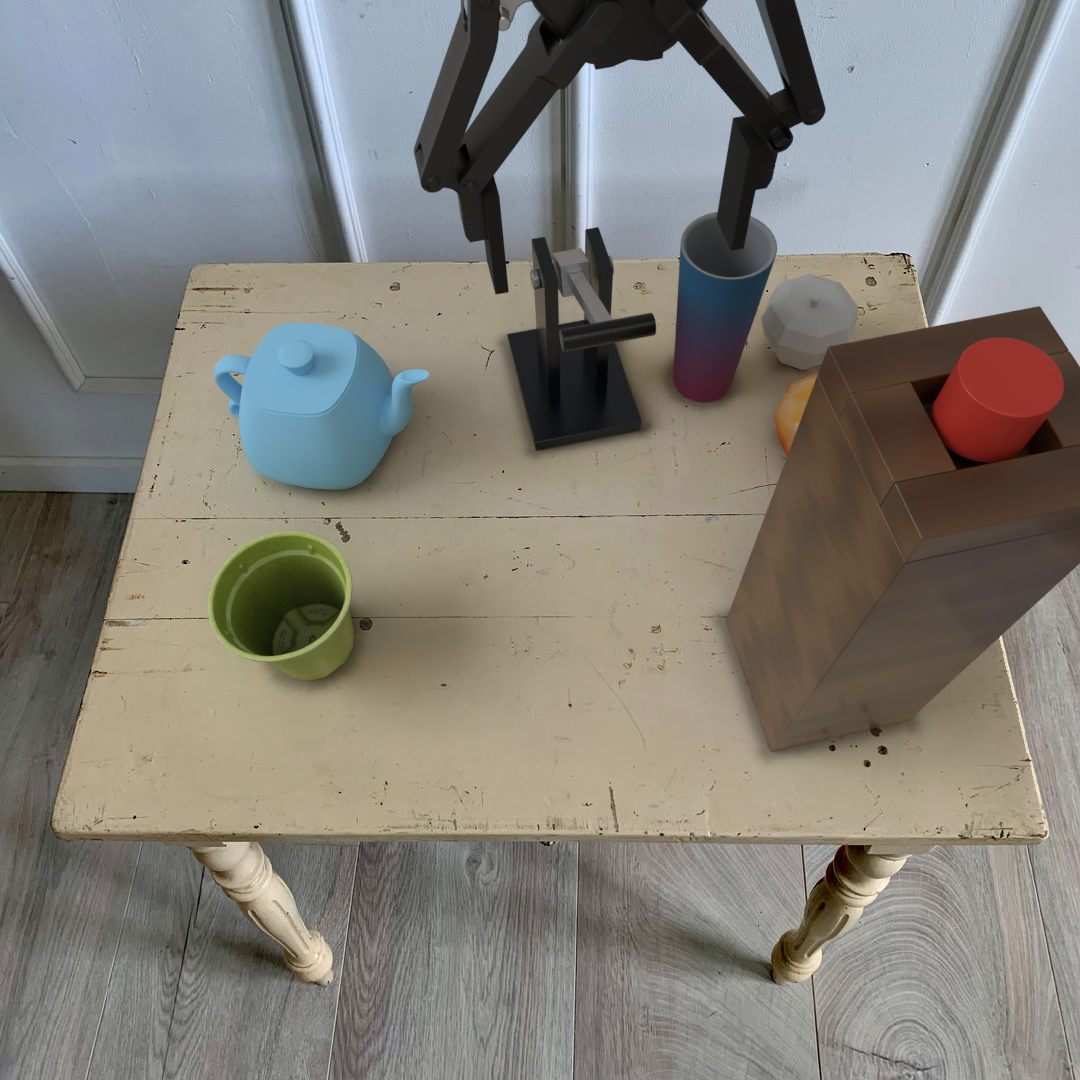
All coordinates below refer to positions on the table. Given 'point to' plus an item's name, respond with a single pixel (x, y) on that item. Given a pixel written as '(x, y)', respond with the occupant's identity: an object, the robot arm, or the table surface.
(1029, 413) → the button
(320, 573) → the plant pot
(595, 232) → the bracket
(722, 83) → the robot arm
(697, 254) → the cup
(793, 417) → the fruit
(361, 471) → the teapot
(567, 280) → the lever
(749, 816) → the table surface
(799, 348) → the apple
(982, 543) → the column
